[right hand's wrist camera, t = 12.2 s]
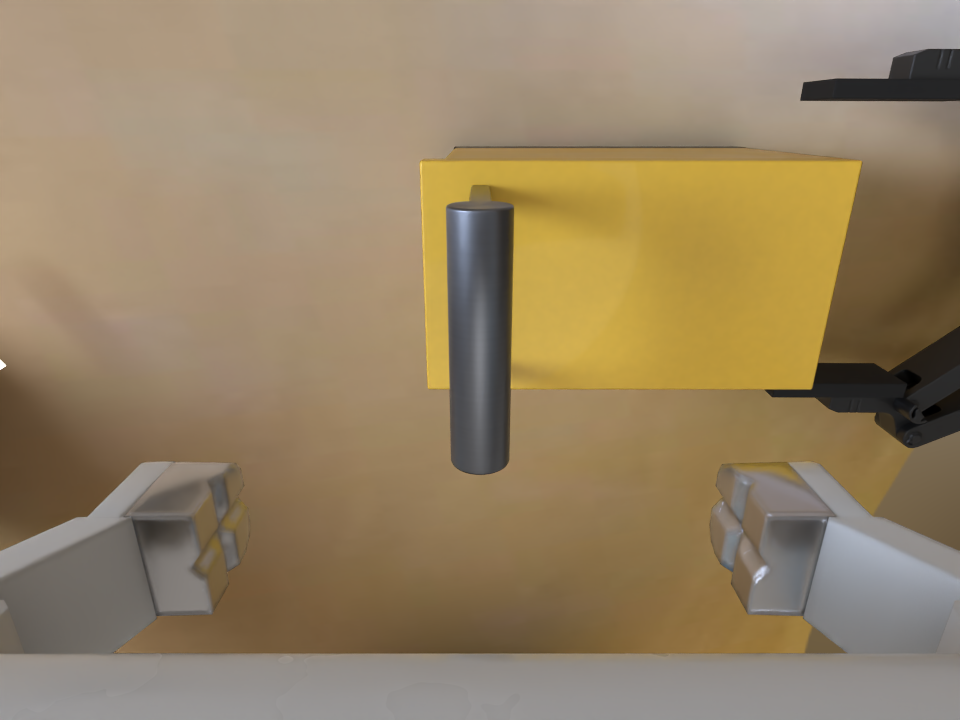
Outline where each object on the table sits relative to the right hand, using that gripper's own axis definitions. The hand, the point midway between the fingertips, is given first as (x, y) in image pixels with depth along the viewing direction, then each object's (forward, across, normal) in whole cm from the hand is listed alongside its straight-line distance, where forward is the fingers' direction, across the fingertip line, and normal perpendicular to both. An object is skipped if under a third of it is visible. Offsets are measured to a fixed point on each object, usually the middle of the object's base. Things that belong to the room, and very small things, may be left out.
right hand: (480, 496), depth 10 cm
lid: (+16, +6, 0) cm, 17 cm away
